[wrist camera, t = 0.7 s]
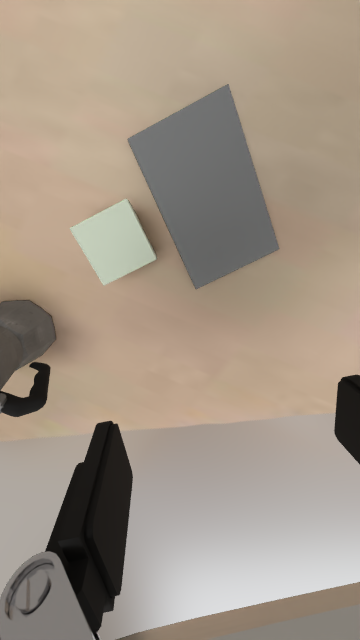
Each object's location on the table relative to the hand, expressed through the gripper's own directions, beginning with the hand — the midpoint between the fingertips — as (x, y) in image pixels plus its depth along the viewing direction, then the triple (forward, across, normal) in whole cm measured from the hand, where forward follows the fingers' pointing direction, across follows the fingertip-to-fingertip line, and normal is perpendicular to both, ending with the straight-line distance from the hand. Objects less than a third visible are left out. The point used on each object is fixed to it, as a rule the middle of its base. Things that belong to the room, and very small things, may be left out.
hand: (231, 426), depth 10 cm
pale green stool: (+27, +6, -8) cm, 29 cm away
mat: (+27, -6, -12) cm, 30 cm away
